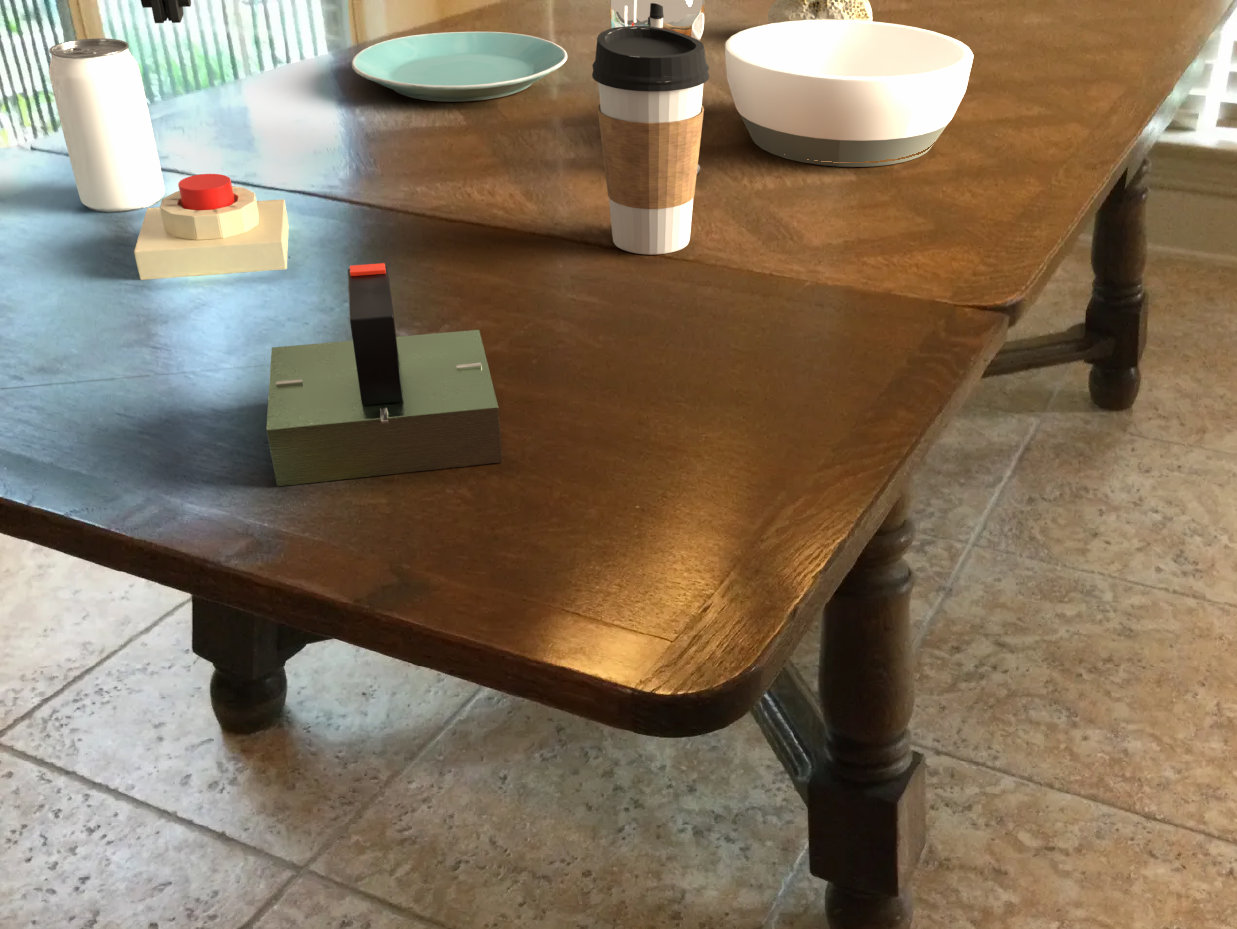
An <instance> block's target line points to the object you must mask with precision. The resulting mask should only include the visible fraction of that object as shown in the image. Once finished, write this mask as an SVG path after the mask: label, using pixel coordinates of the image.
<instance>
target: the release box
mask: <svg viewBox="0 0 1237 929" xmlns="http://www.w3.org/2000/svg"><path fill="white" fill-rule="evenodd" d="M232 190H233V195H234V200H235V203H233V204H231V205H230V206H226V207H222V208H218V209H214V210H199V211H197V210H189V209H184V208H183V206H182V201H181V196H180V191H179V190H178V191H174V192H173V193H171V194H169V195H167V196H165V197H164V198H163V197H162V199H161V201H160V206H158V207H157V206H156V207H154V206H153V207H147V208H146V211H145V215H144V218H143V221H142V225H141V228H140V231H139V234H138V237H137V241H136V244H135V247H134V249H133V254H134V255H133V256H134V259H135V262H136V263H135V264H136V267H137V272H138V276H139V280H140V281H147V280H160V279H161V280H162V279H173V278H174V279H176V278H187V277H202V276H203V277H204V276H215V275H228V274H241V273H254V272H255V273H256V272H269V271H282V270H284V271H285V270H287V269H288V252H289V251H288V250H289V233H290V232H289V230H290V224H289V219H288V217H289V216H288V212H287V206H286V200H285V199H284V198H283V199H282V198H281V199H267V200H257V195H256V193H255V192H254V191H252V190H250V189H248V188H245V187H243V186H233V185H232Z"/></svg>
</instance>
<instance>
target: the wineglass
mask: <svg viewBox="0 0 1237 929" xmlns="http://www.w3.org/2000/svg"><path fill="white" fill-rule="evenodd" d="M705 2H706V1H705V0H610V3H609V19H610V20H609V21H610V29H611V28H616V27H625V26H652V27H658V28H664V29H668V30H672V31H675V32H679V33H682V34H685V35H688V36H690V37H693V38H695V39H697V40H699V41H700V42H701V39H702V37H703V34H704V31H705V30H704V29H705V23H706V22H705V21H706V4H705ZM701 171H702V168H701V165H700V164H699V163H698V166H697V175H696V178H697V177H698V176H699V175H700V174H701Z"/></svg>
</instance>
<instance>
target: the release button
mask: <svg viewBox="0 0 1237 929" xmlns="http://www.w3.org/2000/svg"><path fill="white" fill-rule="evenodd" d="M177 185H178V191H180V196H181V201H182V206H183V208H184V209H189V210H197V211H199V210H214V209H218V208H222V207H226V206H230V205H231V204H233V203H235V200H234V195H233V190H232V186H233V184H232V180H231V178H230V177H229V176H227V175H225V174H221V173H220V174H219V173H200V174H195V175H190V176H187V177H185V178H182V179H181V180H180V181H179V182H178V183H177Z"/></svg>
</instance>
